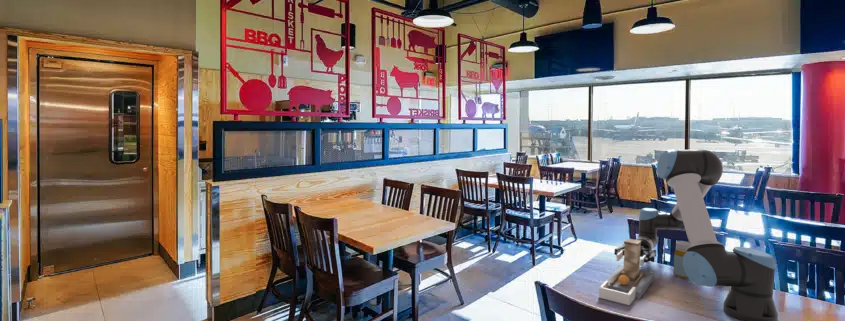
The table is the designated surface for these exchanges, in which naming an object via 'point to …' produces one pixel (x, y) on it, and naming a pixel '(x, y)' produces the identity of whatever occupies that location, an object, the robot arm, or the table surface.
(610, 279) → the platform
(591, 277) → the table surface
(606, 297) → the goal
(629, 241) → the tan tall block
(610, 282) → the lane rails
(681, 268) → the bottle
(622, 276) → the ball
